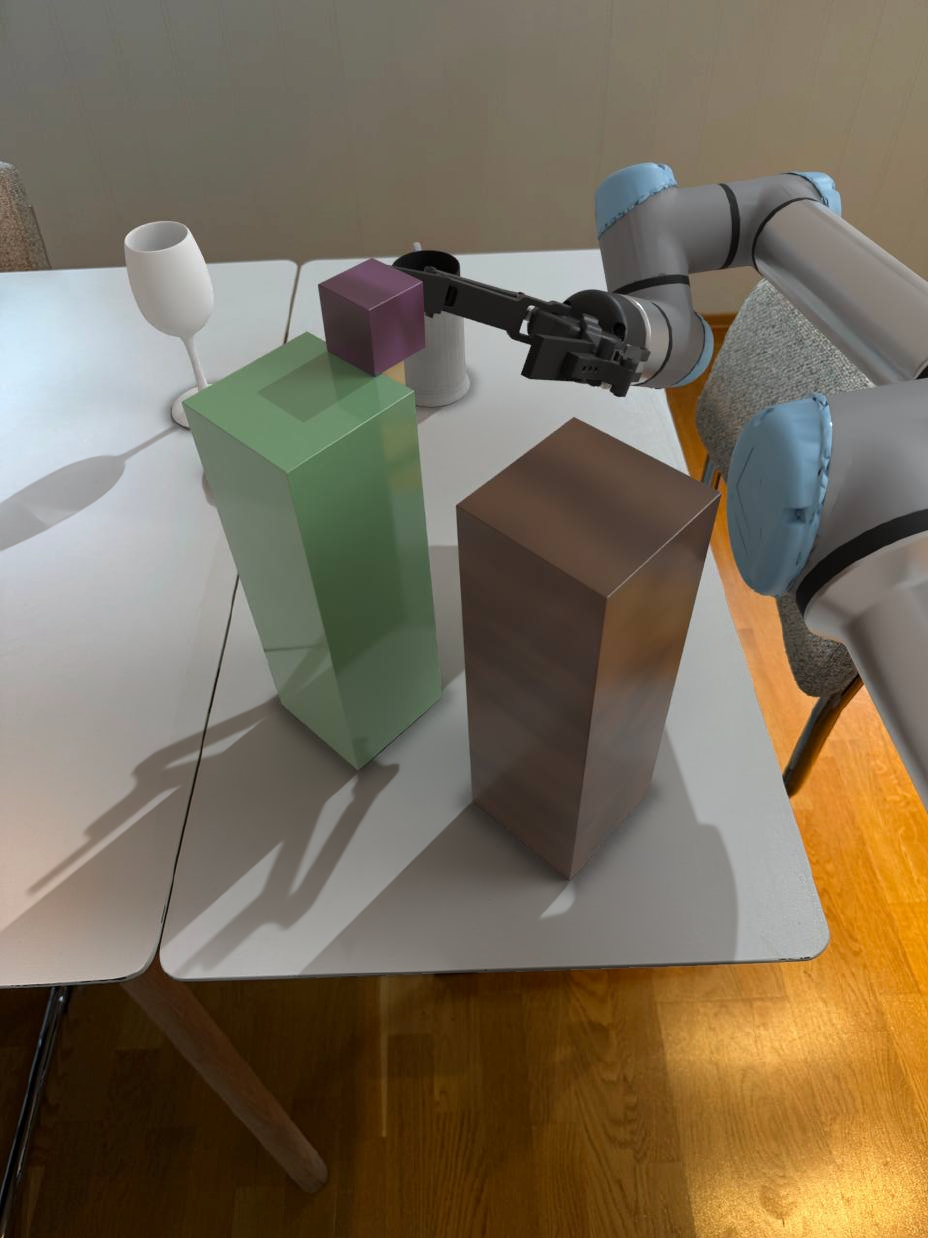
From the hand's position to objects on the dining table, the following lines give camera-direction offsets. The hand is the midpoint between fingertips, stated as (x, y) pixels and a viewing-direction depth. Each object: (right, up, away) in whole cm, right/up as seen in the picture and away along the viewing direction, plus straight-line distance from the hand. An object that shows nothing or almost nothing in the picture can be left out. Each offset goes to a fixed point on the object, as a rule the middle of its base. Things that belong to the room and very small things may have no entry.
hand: (454, 319), depth 60 cm
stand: (+8, -34, +11) cm, 37 cm away
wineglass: (-30, +5, +47) cm, 56 cm away
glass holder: (-3, +10, +50) cm, 51 cm away
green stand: (-8, -27, +18) cm, 34 cm away
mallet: (-6, -6, -2) cm, 9 cm away
